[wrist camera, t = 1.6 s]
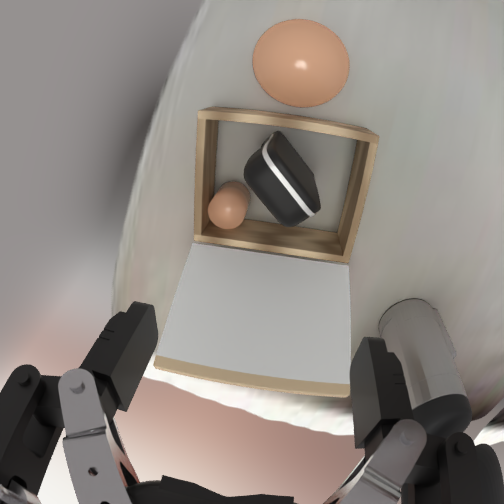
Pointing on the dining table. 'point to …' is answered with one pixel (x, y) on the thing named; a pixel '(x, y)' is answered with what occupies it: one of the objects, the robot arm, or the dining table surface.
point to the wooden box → (271, 233)
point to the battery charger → (282, 181)
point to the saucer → (301, 63)
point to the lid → (260, 322)
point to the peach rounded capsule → (229, 205)
